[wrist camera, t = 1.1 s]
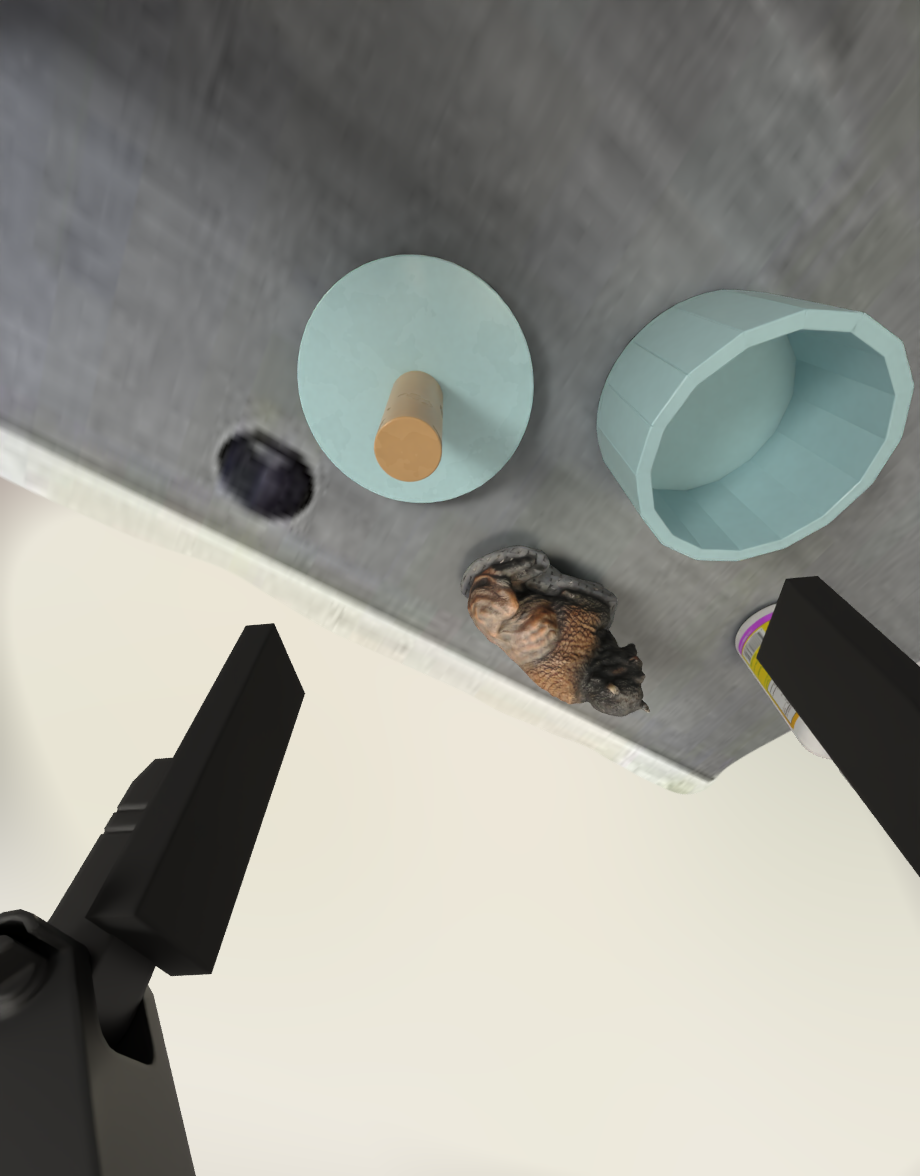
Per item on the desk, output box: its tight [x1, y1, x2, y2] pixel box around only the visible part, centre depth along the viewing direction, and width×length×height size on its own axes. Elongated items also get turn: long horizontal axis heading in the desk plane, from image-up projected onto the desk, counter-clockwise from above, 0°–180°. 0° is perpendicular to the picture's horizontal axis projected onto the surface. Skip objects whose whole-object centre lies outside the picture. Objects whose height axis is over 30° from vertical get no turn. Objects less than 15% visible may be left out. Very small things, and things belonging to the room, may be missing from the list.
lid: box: [297, 254, 534, 503], centre depth 23 cm, size 13×13×9 cm
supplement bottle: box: [735, 603, 854, 789], centre depth 33 cm, size 7×7×13 cm
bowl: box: [596, 289, 914, 561], centre depth 24 cm, size 11×11×8 cm
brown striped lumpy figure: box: [460, 546, 650, 716], centre depth 30 cm, size 12×7×10 cm, turn 64°
